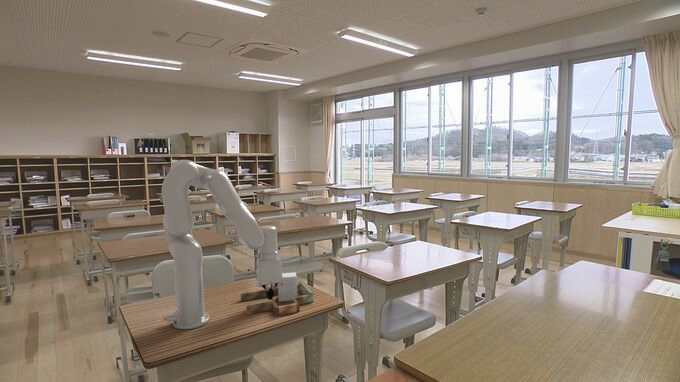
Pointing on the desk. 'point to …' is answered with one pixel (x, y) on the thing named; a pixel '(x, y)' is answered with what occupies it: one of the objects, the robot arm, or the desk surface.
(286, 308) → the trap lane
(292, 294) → the small box
